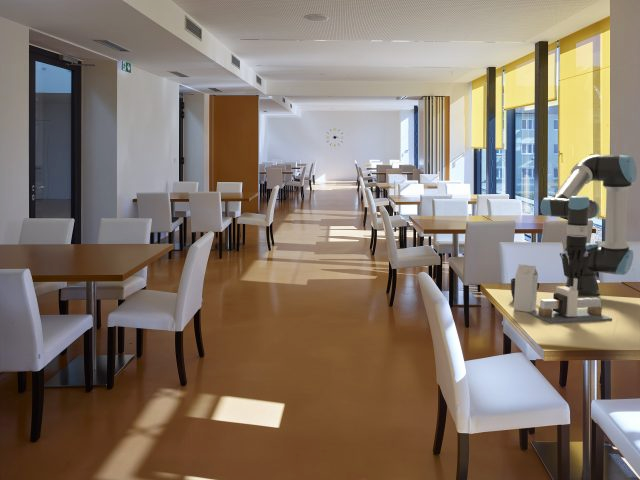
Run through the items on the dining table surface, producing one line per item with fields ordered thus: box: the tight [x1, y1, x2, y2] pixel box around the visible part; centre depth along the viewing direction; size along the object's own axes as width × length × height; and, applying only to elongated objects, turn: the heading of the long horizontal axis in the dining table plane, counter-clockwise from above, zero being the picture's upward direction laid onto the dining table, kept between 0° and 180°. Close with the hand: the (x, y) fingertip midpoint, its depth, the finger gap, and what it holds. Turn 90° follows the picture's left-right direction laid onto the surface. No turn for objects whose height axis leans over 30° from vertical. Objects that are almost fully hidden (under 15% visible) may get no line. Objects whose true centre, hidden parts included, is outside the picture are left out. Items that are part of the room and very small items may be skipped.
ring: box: [552, 292, 567, 315], centre depth 273 cm, size 2×7×7 cm, turn 13°
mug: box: [510, 277, 540, 302], centre depth 302 cm, size 8×12×10 cm
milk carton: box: [513, 263, 539, 313], centre depth 285 cm, size 7×7×19 cm
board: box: [528, 308, 613, 324], centre depth 275 cm, size 27×16×1 cm, turn 103°
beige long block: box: [538, 297, 603, 318], centre depth 275 cm, size 25×5×7 cm, turn 103°
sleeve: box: [555, 285, 579, 317], centre depth 274 cm, size 4×9×10 cm, turn 13°
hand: (573, 294), depth 274 cm, fingers closed
